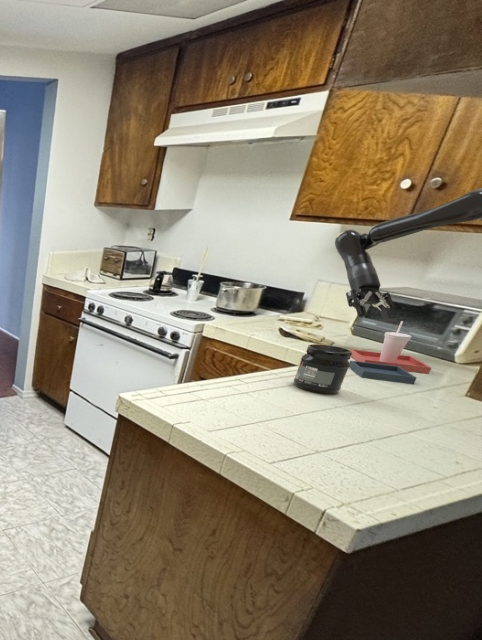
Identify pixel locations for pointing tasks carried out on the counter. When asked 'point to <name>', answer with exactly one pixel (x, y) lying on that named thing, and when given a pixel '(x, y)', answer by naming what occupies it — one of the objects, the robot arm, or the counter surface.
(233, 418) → the counter surface
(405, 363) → the rose tray
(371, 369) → the slate tray
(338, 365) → the supplement container
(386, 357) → the smoothie
